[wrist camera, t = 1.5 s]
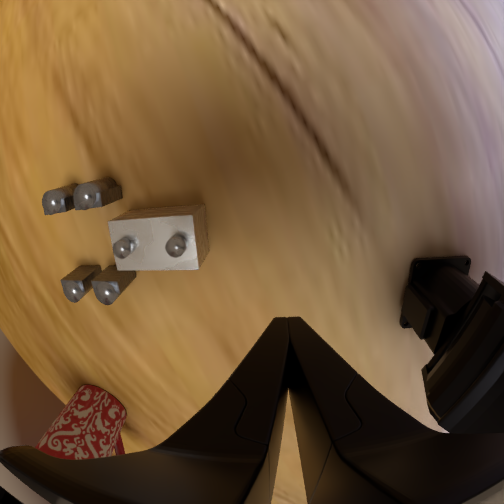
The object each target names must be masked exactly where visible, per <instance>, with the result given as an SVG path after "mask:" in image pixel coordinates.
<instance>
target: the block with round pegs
mask: <svg viewBox="0 0 504 504" xmlns="http://www.w3.org/2000/svg"><path fill="white" fill-rule="evenodd" d="M108 225H109V231H110V236H111V242H112V247H113V253H114V256H115V261H116V265H117V270H199V269H200V267H201V265H202V263H203V262H204V260H205V258H206V256H207V254H208V253H209V243H208V233H207V223H206V213H205V204H201V205H187V206H173V207H161V208H149V209H138V210H129V211H127V212H125V213H123V214H121V215H119V216H117V217H116V218H114V219H112V220H110V221H108Z"/></svg>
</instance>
